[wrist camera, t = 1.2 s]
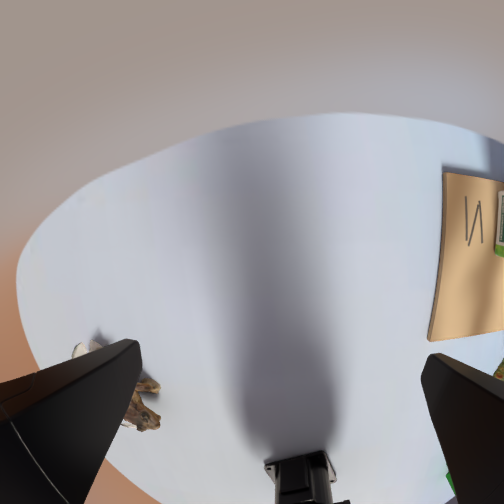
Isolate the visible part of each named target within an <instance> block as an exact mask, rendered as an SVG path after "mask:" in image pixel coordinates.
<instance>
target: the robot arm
mask: <svg viewBox="0 0 504 504" xmlns="http://www.w3.org/2000/svg"><path fill="white" fill-rule="evenodd" d="M141 371H142V357H141V350H140V344H139V342H138V341H136V340H131V339H123V340H121V341H118V342H116V343H113V344H110V345H108V346H105V347H103V348H100V349H97V350H95V351H92V352H89V353H87V354H84V355H81V356H79V357H76V358H73V359H71V360H68V361H65V362H62V363H60V364H57V365H54V366H51V367H49V368H46V369H43V370H40V371H37V373H32V374H29V375H26V376H23V377H20V378H16V379H13V380H10V381H7V382H3V383H0V504H84V502H85V500H86V497H87V495H88V493H89V490H90V488H91V486H92V484H93V482H94V479H95V477H96V475H97V473H98V471H99V469H100V466H101V464H102V462H103V460H104V458H105V456H106V454H107V451H108V449H109V447H110V445H111V443H112V441H113V439H114V437H115V435H116V433H117V430H118V428H119V426H120V424H121V422H122V420H123V418H124V416H125V414H126V412H127V410H128V407H129V405H130V402H131V399H132V396H133V394H134V391H135V388H136V385H137V382H138V379H139V377H140V374H141ZM421 384H422V387H423V391H424V394H425V398H426V402H427V406H428V409H429V413H430V417H431V420H432V423H433V426H434V428H435V431H436V434H437V437H438V439H439V442H440V445H441V448H442V451H443V454H444V457H445V460H446V463H447V466H448V470H449V473H450V476H451V480H452V483H453V486H454V490H455V494H456V497H457V501H458V504H504V381H502V380H500V379H498V378H495V377H493V376H491V375H489V374H486V373H484V372H482V371H480V370H477V369H475V368H473V367H471V366H468V365H466V364H464V363H462V362H460V361H457V360H455V359H453V358H451V357H449V356H446V355H444V354H442V353H435V354H430V355H429V356H428V358H427V361H426V363H425V366H424V369H423V372H422V374H421ZM264 469H265V471H266V472H267V474H268V475H269V477H270V478H271V479H272V481H273V482H274V484H275V504H350V500H344V501H343V502H338V503H333V499H332V492H331V486H330V484H332V483H335V482H336V481H337V479H336V476H335V474H334V472H333V469H332V467H331V465H330V463H329V461H328V458H327V456H326V454H325V452H324V451H318V452H315V453H311V454H307V455H304V456H300V457H296V458H292V459H288V460H283V461H279V462H274V463H269V464H266V465H265V466H264Z"/></svg>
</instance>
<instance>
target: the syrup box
mask: <svg viewBox="0 0 504 504" xmlns="http://www.w3.org/2000/svg"><path fill="white" fill-rule="evenodd" d="M498 199H499V207H498V222H497V235H496V246H495V255H497V256H500V257H503V258H504V191H499V192H498Z"/></svg>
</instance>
